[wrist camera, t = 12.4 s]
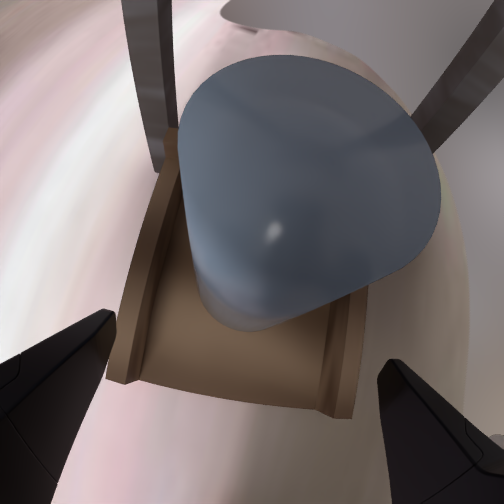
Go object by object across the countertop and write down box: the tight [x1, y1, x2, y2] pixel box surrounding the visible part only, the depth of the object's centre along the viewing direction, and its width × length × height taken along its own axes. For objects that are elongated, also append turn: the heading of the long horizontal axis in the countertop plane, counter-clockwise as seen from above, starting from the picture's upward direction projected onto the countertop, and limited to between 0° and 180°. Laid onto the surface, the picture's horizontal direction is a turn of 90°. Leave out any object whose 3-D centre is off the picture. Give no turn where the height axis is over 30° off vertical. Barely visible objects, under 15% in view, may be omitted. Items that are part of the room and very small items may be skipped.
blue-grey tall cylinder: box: [178, 55, 441, 332], centre depth 12 cm, size 6×6×12 cm
